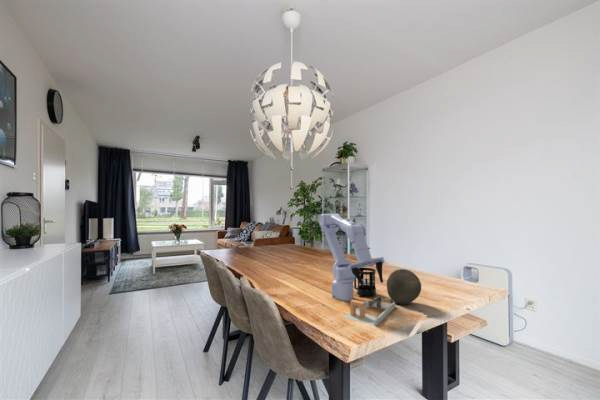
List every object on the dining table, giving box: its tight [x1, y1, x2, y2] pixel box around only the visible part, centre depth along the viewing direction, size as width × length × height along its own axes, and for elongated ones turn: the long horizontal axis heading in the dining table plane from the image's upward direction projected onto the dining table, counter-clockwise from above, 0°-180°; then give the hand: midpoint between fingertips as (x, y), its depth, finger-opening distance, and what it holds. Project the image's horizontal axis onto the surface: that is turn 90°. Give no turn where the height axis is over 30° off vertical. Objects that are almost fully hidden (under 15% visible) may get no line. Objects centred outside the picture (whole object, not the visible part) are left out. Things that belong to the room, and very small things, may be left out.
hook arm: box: [368, 295, 382, 309], centre depth 109 cm, size 2×11×6 cm, turn 144°
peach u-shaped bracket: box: [349, 299, 366, 318], centre depth 104 cm, size 5×2×5 cm, turn 54°
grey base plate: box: [343, 300, 396, 327], centre depth 108 cm, size 13×22×3 cm, turn 144°
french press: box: [353, 246, 377, 298], centre depth 133 cm, size 12×9×23 cm
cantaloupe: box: [386, 268, 422, 305], centre depth 120 cm, size 14×14×15 cm
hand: (372, 284), depth 105 cm, fingers open, 7 cm apart
